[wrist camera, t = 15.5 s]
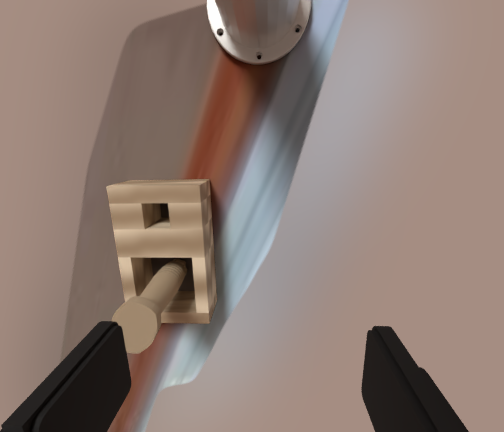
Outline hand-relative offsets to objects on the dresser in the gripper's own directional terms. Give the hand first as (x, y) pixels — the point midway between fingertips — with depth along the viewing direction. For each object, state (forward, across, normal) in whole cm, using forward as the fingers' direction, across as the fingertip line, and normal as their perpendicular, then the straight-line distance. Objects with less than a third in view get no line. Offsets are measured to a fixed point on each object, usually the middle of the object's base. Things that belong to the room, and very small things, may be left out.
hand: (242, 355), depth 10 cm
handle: (+30, +13, +11) cm, 35 cm away
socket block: (+30, +14, +7) cm, 34 cm away
